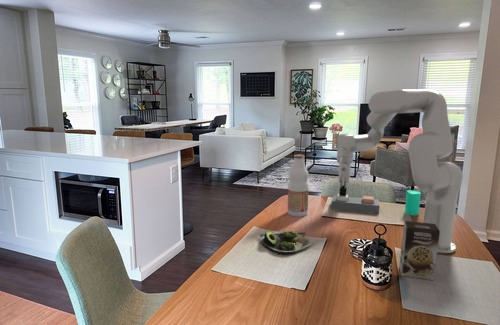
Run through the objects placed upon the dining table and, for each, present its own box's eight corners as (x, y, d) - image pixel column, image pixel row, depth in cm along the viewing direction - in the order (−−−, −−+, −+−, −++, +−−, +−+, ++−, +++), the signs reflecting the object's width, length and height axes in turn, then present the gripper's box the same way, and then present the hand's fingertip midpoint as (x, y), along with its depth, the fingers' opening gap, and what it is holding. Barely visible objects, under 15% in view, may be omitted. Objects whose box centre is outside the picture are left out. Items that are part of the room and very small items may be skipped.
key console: (377, 207, 167) (378, 199, 166) (378, 213, 158) (379, 205, 157) (332, 202, 174) (333, 195, 173) (331, 208, 164) (331, 201, 163)
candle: (401, 212, 160) (404, 187, 157) (410, 210, 162) (413, 186, 160) (412, 216, 154) (415, 191, 152) (421, 214, 157) (424, 189, 155)
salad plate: (291, 230, 139) (292, 219, 138) (322, 246, 125) (323, 234, 124) (253, 240, 129) (253, 229, 128) (281, 259, 114) (282, 247, 113)
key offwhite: (347, 201, 168) (348, 194, 168) (347, 204, 164) (347, 197, 163) (337, 200, 170) (337, 193, 169) (336, 203, 165) (337, 196, 165)
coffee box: (401, 276, 103) (406, 227, 100) (399, 266, 109) (403, 219, 106) (434, 281, 100) (440, 230, 97) (430, 270, 106) (435, 222, 103)
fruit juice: (291, 217, 152) (292, 157, 147) (284, 211, 161) (285, 153, 156) (310, 216, 154) (312, 156, 149) (303, 209, 163) (304, 153, 158)
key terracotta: (373, 203, 165) (373, 196, 164) (373, 206, 160) (373, 199, 159) (362, 202, 166) (362, 195, 166) (362, 205, 162) (362, 198, 161)
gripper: (352, 162, 154) (350, 200, 158) (353, 157, 168) (350, 192, 172) (335, 161, 157) (333, 199, 160) (337, 156, 171) (336, 190, 174)
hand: (342, 195), depth 166 cm, fingers closed
